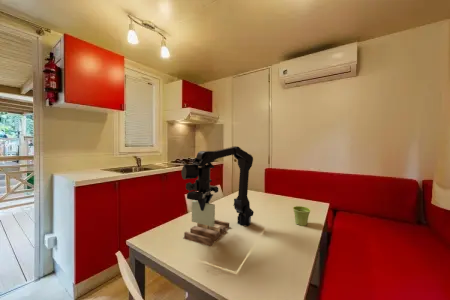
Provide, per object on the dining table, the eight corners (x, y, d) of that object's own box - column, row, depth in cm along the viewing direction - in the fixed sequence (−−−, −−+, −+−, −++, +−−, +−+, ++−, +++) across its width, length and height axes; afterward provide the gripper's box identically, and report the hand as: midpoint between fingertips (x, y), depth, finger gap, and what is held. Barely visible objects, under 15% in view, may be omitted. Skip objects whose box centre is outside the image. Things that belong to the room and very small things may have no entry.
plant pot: (312, 228, 101) (312, 212, 101) (293, 226, 103) (294, 211, 103) (308, 221, 110) (308, 206, 110) (291, 219, 112) (291, 205, 112)
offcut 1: (208, 231, 95) (208, 223, 95) (205, 232, 93) (205, 225, 93) (199, 228, 97) (199, 221, 97) (197, 230, 95) (197, 223, 95)
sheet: (214, 225, 87) (214, 204, 87) (212, 226, 86) (213, 205, 86) (193, 220, 93) (193, 200, 93) (191, 221, 92) (192, 201, 91)
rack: (230, 228, 99) (230, 222, 99) (210, 248, 81) (210, 240, 81) (206, 223, 106) (206, 217, 106) (182, 239, 87) (182, 232, 87)
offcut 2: (219, 234, 92) (220, 225, 92) (217, 236, 90) (217, 227, 90) (211, 231, 94) (211, 223, 94) (208, 233, 92) (208, 225, 92)
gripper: (201, 173, 101) (200, 202, 101) (177, 178, 84) (176, 213, 85) (219, 175, 96) (218, 205, 96) (197, 181, 79) (197, 217, 80)
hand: (203, 210), depth 89 cm, fingers closed on sheet, 2 cm apart
